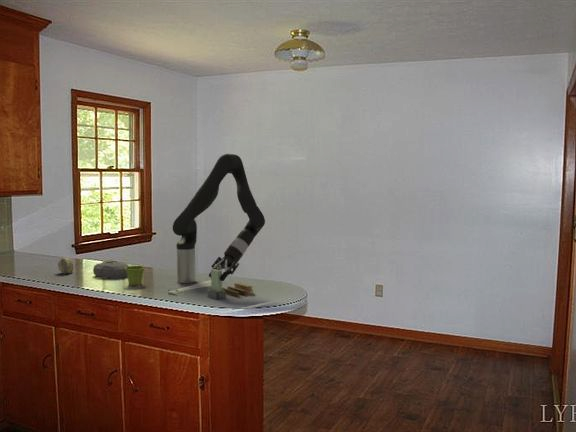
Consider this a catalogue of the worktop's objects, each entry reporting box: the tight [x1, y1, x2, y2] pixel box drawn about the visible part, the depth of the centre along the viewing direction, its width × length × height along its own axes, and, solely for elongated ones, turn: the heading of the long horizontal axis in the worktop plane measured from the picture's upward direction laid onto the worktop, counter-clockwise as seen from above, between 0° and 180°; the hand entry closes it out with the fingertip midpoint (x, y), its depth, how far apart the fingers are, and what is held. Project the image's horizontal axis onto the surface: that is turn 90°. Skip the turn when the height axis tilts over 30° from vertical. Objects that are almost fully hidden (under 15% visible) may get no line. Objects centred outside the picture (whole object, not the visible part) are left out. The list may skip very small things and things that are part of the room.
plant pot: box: [125, 265, 145, 287], centre depth 258 cm, size 9×9×9 cm
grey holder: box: [206, 288, 227, 300], centre depth 228 cm, size 5×8×4 cm, turn 42°
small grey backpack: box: [92, 260, 129, 279], centre depth 279 cm, size 15×8×20 cm
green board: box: [210, 268, 223, 292], centre depth 228 cm, size 2×6×12 cm, turn 42°
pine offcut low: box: [231, 285, 254, 296], centre depth 237 cm, size 4×12×2 cm, turn 42°
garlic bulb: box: [57, 256, 75, 275], centre depth 287 cm, size 9×8×10 cm
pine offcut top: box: [233, 282, 253, 291], centre depth 237 cm, size 3×10×2 cm, turn 42°
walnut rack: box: [222, 285, 256, 299], centre depth 236 cm, size 10×14×3 cm
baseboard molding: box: [168, 279, 227, 296], centre depth 249 cm, size 31×3×12 cm
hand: (215, 278), depth 227 cm, fingers open, 8 cm apart
